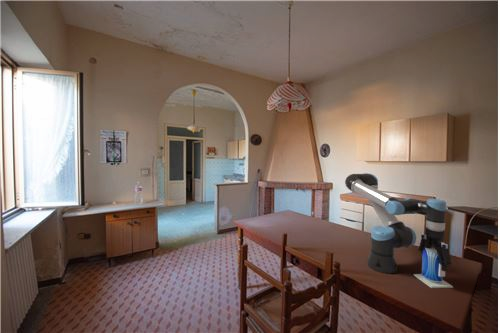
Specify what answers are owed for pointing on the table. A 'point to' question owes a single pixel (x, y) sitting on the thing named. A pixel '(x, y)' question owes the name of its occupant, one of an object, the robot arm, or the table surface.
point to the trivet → (433, 285)
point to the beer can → (431, 265)
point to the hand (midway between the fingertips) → (432, 270)
